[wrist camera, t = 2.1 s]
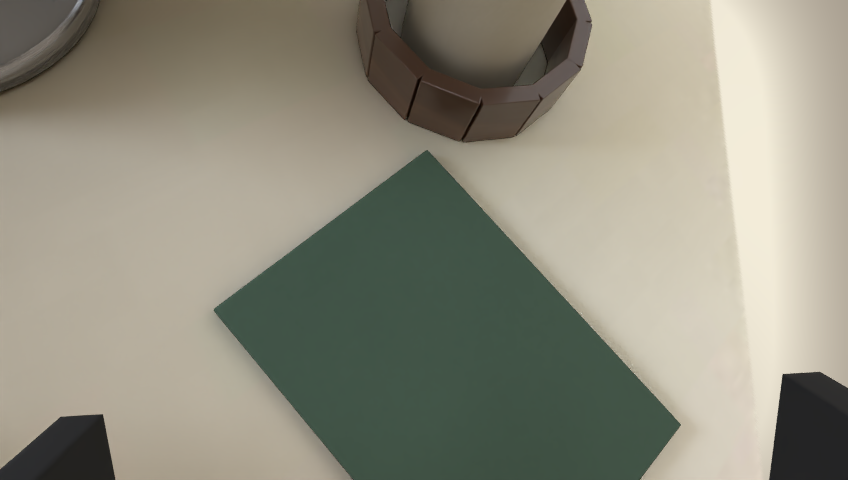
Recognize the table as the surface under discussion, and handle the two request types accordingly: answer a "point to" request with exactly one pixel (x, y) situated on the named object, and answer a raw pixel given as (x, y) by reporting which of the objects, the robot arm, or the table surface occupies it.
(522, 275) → the mat
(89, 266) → the table surface
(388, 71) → the holder
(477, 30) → the travel mug
